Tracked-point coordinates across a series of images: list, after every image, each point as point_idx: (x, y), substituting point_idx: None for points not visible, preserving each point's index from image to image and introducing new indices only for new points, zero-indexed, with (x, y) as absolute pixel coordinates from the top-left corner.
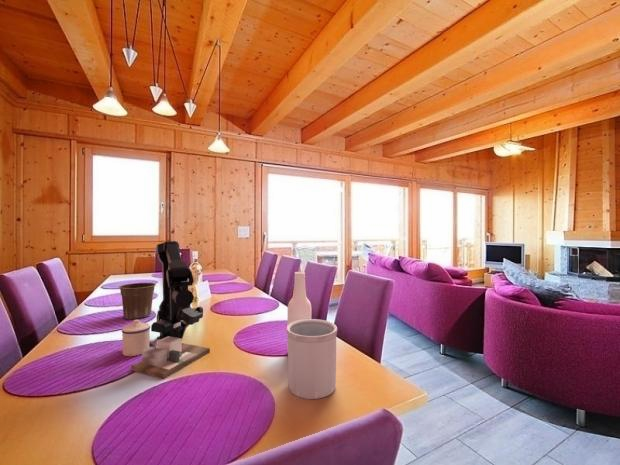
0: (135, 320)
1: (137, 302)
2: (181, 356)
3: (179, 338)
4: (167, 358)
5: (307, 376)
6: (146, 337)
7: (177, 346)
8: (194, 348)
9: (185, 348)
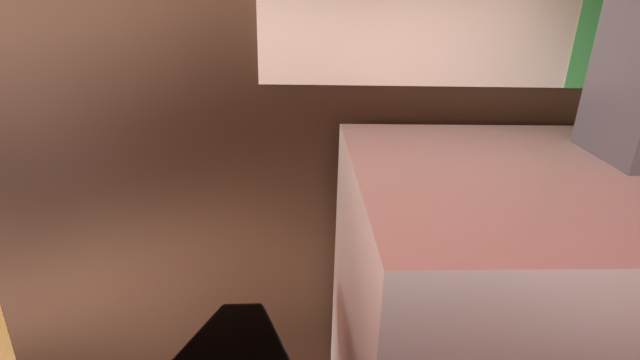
0: None
1: None
2: (453, 16)
3: (398, 333)
4: None
5: None
6: None
7: (492, 182)
8: (56, 68)
9: (145, 213)
